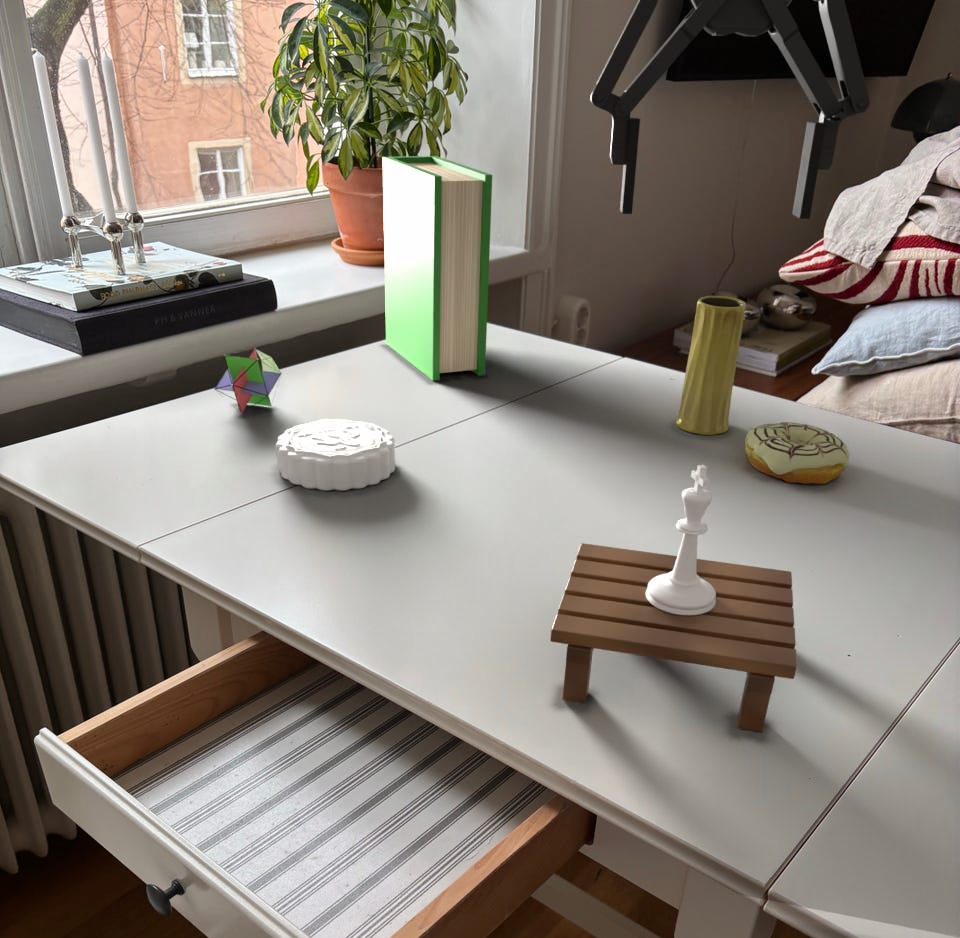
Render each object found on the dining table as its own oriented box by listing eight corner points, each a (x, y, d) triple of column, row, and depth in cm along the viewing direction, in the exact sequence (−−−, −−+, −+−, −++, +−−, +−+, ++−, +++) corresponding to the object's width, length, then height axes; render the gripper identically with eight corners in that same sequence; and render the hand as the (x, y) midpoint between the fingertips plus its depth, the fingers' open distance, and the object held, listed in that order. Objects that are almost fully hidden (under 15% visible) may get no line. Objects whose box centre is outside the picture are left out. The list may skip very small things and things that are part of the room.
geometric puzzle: (255, 407, 110) (270, 338, 111) (199, 400, 112) (214, 332, 112) (280, 427, 117) (293, 362, 118) (227, 420, 119) (241, 356, 119)
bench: (777, 631, 78) (791, 569, 75) (780, 737, 66) (797, 669, 63) (575, 601, 80) (581, 540, 78) (544, 698, 69) (550, 631, 66)
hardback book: (484, 375, 130) (492, 174, 117) (432, 380, 127) (434, 176, 114) (434, 339, 143) (435, 155, 130) (385, 343, 141) (382, 156, 128)
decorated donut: (774, 492, 100) (781, 457, 98) (724, 453, 109) (729, 420, 107) (863, 483, 103) (871, 449, 101) (807, 446, 112) (814, 413, 110)
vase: (698, 413, 120) (717, 292, 112) (739, 428, 116) (761, 303, 108) (665, 423, 116) (682, 299, 109) (706, 439, 112) (727, 311, 105)
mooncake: (304, 501, 95) (302, 465, 93) (261, 458, 104) (257, 425, 102) (415, 478, 100) (415, 445, 98) (365, 439, 109) (364, 408, 107)
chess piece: (663, 619, 68) (684, 484, 62) (634, 585, 72) (651, 455, 66) (728, 611, 69) (754, 477, 64) (695, 577, 73) (717, 449, 68)
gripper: (924, -114, 70) (861, 212, 80) (569, -119, 71) (553, 204, 81) (963, -133, 63) (888, 224, 74) (572, -138, 64) (553, 215, 75)
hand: (712, 214), depth 77 cm, fingers open, 13 cm apart
